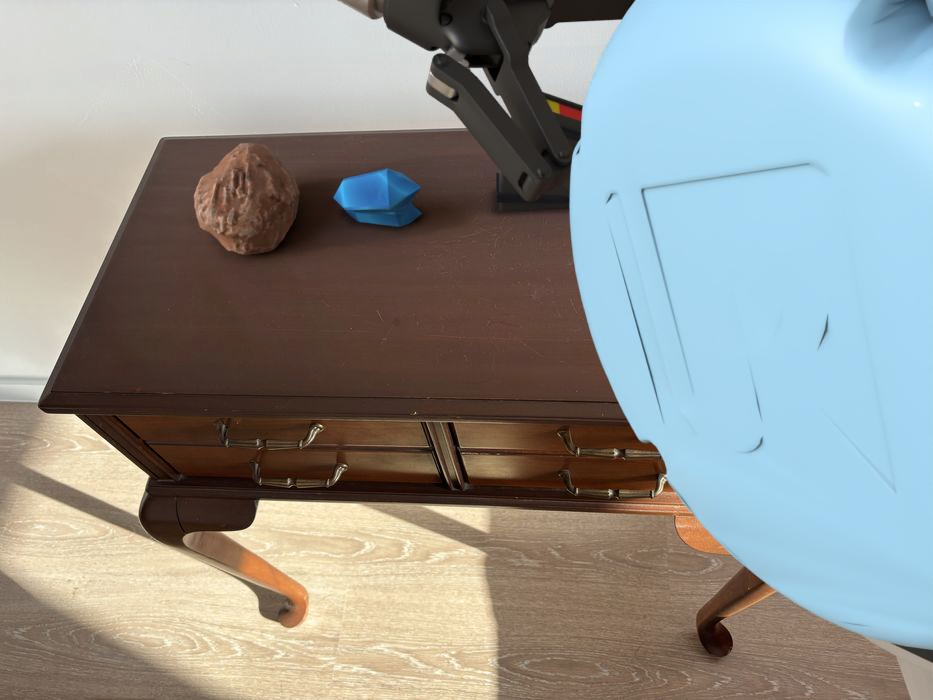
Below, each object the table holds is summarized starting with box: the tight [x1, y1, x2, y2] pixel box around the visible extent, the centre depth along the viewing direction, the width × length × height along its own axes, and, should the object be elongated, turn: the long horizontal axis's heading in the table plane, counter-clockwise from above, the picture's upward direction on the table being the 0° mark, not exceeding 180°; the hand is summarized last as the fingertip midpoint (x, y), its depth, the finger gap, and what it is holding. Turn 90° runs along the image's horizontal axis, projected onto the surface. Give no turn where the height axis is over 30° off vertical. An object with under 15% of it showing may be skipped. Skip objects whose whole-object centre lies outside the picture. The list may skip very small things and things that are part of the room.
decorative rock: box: [193, 142, 301, 256], centre depth 80 cm, size 13×11×10 cm
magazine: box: [495, 91, 583, 212], centre depth 77 cm, size 4×13×15 cm, turn 89°
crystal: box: [333, 168, 422, 228], centre depth 79 cm, size 7×9×12 cm
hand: (703, 131), depth 44 cm, fingers open, 13 cm apart
